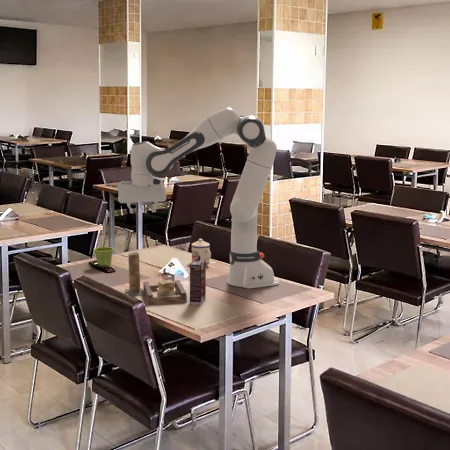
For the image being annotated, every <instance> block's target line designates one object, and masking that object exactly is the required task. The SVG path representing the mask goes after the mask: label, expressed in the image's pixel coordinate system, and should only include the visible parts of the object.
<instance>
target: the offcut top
mask: <svg viewBox="0 0 450 450" xmlns="http://www.w3.org/2000/svg"><path fill="white" fill-rule="evenodd" d="M174 283H175V281H172V280H171V279H167V280H159V281H158V285H159V289H160V290H161V291H167V290H174Z"/></svg>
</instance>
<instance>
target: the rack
mask: <svg viewBox="0 0 450 450" xmlns="http://www.w3.org/2000/svg"><path fill="white" fill-rule="evenodd" d="M174 287H175V290H176V294H177V295H173V296H154V295H153V291H157V288H159V285H158V284H157V283H156V284H149V281H144V282H143V288H142V290H143V293H144V295H145V298H146V301H147V303H148V305H159V304H161V305H163V304H177V303H188V302H187V301H188V298H187V297H188V295H187V291H186V289H185V288H184V286H183V284H182V283H181V281H180V280H179V279H175V280H174Z"/></svg>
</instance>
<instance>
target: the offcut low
mask: <svg viewBox="0 0 450 450" xmlns="http://www.w3.org/2000/svg"><path fill="white" fill-rule="evenodd" d="M156 291H157V292H156V295H157V296H173V295H176V294H177V291H176V289H175V287H174V290H167V291H161V290H160V289H159V288H157V290H156Z"/></svg>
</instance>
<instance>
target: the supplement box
mask: <svg viewBox="0 0 450 450" xmlns="http://www.w3.org/2000/svg"><path fill="white" fill-rule="evenodd" d="M206 273H207V264H206V260H195V261H194V262H193V263H192V262H191V264H189V304H190V305H202V303H203V302H204V301H205V300H206V297H207V296H206V291H207V288H206V287H207V280H206V279H207V277H206V275H207V274H206Z"/></svg>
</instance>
